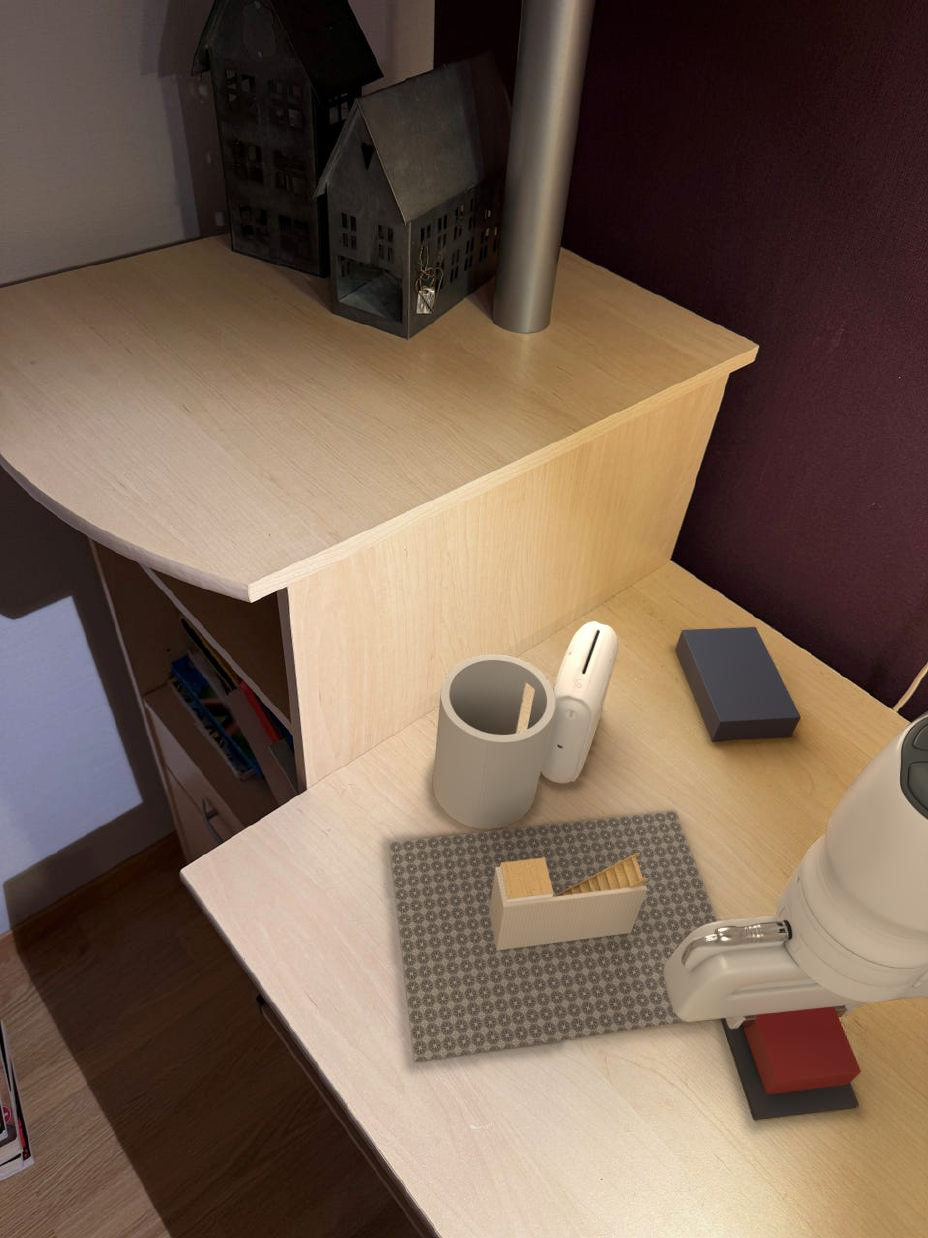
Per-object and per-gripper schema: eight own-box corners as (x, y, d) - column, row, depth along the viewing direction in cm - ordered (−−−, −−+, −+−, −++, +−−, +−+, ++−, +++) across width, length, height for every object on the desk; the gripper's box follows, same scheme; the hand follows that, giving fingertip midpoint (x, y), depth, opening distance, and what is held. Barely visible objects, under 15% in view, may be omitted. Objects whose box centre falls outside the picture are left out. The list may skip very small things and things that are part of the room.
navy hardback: (674, 649, 94) (681, 629, 92) (747, 646, 95) (755, 626, 93) (711, 742, 86) (720, 722, 84) (791, 737, 87) (801, 717, 85)
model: (489, 911, 71) (496, 860, 66) (619, 895, 73) (636, 844, 68) (496, 950, 69) (504, 901, 64) (630, 933, 71) (649, 883, 65)
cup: (419, 811, 78) (425, 722, 69) (450, 732, 84) (460, 642, 76) (521, 842, 76) (540, 755, 68) (545, 759, 83) (566, 671, 74)
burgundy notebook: (718, 953, 69) (727, 938, 67) (792, 946, 70) (803, 931, 68) (765, 1095, 62) (777, 1081, 60) (847, 1085, 63) (861, 1072, 61)
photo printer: (576, 792, 80) (602, 701, 72) (530, 776, 81) (550, 685, 73) (603, 709, 87) (629, 618, 79) (560, 696, 88) (581, 604, 80)
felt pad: (790, 944, 72) (793, 940, 71) (856, 1108, 63) (859, 1105, 63) (699, 952, 70) (701, 949, 70) (753, 1121, 62) (756, 1118, 62)
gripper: (712, 987, 52) (657, 1074, 61) (1033, 954, 55) (933, 1043, 64) (679, 886, 56) (633, 983, 66) (978, 861, 59) (892, 957, 69)
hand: (783, 1012), depth 65 cm, fingers closed on burgundy notebook, 6 cm apart
